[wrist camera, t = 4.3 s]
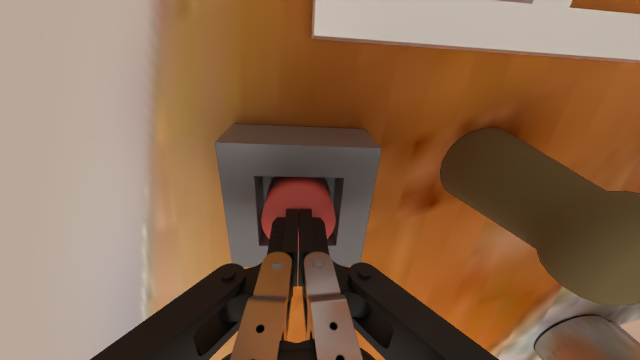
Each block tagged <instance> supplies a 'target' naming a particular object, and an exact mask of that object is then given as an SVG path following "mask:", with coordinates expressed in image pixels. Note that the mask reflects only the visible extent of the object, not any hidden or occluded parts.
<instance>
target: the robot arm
mask: <svg viewBox="0 0 640 360" xmlns="http://www.w3.org/2000/svg"><path fill="white" fill-rule="evenodd" d="M297 269H298V286H302V304H303V315H304V326H305V337H306V341H303V342H300V343H293V342H289V341H287V336H288V327H289V319H290V310H291V301H292V296H293V286H297ZM354 328H355V329H356V330H357V331H358V332H359V333H360V334H361V335H362V336H363V337H364V338H365V339H366V340H367V341H368V342H369V343H370V344H371V345H372V346H373V347H374V348H375V349H376V350H377V351H378V352H379V353H380V354H381V355H382V356H383V357H384V358H385V359H386V360H499V359H497V358H496V357H494V356H493V355H492V354H490V353H489V352H488V351H486V350H485V349H484V348H482V347H481V346H480V345H478V344H477V343H476V342H474V341H473V340H472V339H470V338H469V337H468V336H466V335H465V334H464V333H462V332H461V331H459V330H458V329H457V328H455V327H454V326H453V325H451V324H450V323H449V322H447V321H446V320H445V319H443V318H442V317H441V316H439V315H438V314H437V313H435V312H434V311H433V310H431V309H430V308H429V307H427V306H426V305H424V304H423V303H422V302H420V301H419V300H418V299H416V298H415V297H414V296H412V295H411V294H410V293H408V292H407V291H406V290H404V289H403V288H402V287H400V286H399V285H398V284H396V283H395V282H394V281H392V280H391V279H389V278H388V277H387V276H385V275H384V274H383V273H381V272H380V271H379V270H377V269H376V268H375V267H373V266H372V265H370V264H367V263H362V262H360V263H355V264H354V265H352V266H351V267H350V268H348V267H344V266H341V265H339V264H337V263H335V262H334V261H333V260H332V259H331V257H330V255H329V249H328V242H327V235H326V228H325V223H324V221H323V220H322V219H321V217H312V209H299V267H298V209H286V216H285V217H276V219H275V220H274V221H273V222H272V227H271V233H270V239H269V246H268V252H267V256H266V257H265V258H264V259H263V261H262V263H260V264H259V265H257V266H255V267H252V268H248V269H244V268H243V267H242V266H241V265H239V264H235V263H231V264H226V265H223V266H221V267H219V268H218V269H216V270H215V271H214V272H212V273H211V274H209V275H208V276H207V277H205V278H204V279H202V280H201V281H200V282H198V283H197V284H195V285H194V286H193V287H191V288H190V289H188V290H187V291H186V292H184V293H183V294H181V295H180V296H179V297H177V298H176V299H174V300H173V301H172V302H170V303H169V304H167V305H166V306H164V307H163V308H162V309H160V310H159V311H157V312H156V313H155V314H153V315H152V316H150V317H149V318H148V319H146V320H145V321H143V322H142V323H141V324H139V325H138V326H136V327H135V328H134V329H132V330H131V331H129V332H128V333H127V334H125V335H124V336H122V337H121V338H120V339H118V340H117V341H115V342H114V343H113V344H111V345H110V346H108V347H107V348H106V349H104V350H103V351H102V352H100V353H99V354H97V355H96V356H94V357H93V358H92V359H90V360H209V359H210V358H211V357H212V356H213V355H214V354H215V353H216V352H217V351H218V350H219V349H220V348H221V347H222V346H223V345H224V344H225V343H226V342H227V341H228V340H229V339H230V338H231V337H232V336H233V335H234V334H235V333H236V332H237V331H238V330H239V331H238V334H237V337H236V341H235V344H234V347H233V351H232V353H230V354H229V355H227V356H226V357H224V358H223V359H222V360H375V359H374V358H373V357H372V356H371V355H370V354H369V353H368V352H366V351H365V350H363V349H362V348H360V347H359V344H358V340H357V336H356V333H355V329H354ZM535 351H536V353H537V354H538V355H539V357H540V358H541V359H542V360H640V343H639V342H638V341H636V340H635V339H634V338H633V337H631V335H629V334H628V333H627V332H626V331H625V330H624V329H622V328H621V327H620V326H619V325H618V324H616V323H615V322H608V321H607V320H606V319H605V318H603V317H600V316H583V317H578V318H574V319H571V320H568V321H565V322H563V323H561V324H559V325H557V326H555V327H553V328H552V329H550V330H548V331H547V332H546V333H545V334H543V335H542V336H541V337H540V338H539V340H538V341H537V343H536V345H535Z"/></svg>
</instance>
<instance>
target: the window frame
mask: <svg viewBox="0 0 640 360" xmlns="http://www.w3.org/2000/svg"><path fill="white" fill-rule="evenodd" d="M571 3H572V0H313V11H312V37H311V39H318V40H331V41H345V42H358V43H372V44H385V45H399V46H412V47H425V48H439V49H452V50H466V51H479V52H492V53H506V54H519V55H533V56H546V57H560V58H573V59H586V60H600V61H613V62H627V63H640V14H632V13H622V12H611V11H601V10H590V9H580V8H569V7H570V5H571Z"/></svg>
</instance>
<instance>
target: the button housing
mask: <svg viewBox="0 0 640 360" xmlns="http://www.w3.org/2000/svg"><path fill="white" fill-rule="evenodd" d="M215 147H216V154H217V161H218V168H219V175H220V182H221V189H222V196H223V203H224V210H225V217H226V224H227V231H228V238H229V245H230V252H231V259H232V263H235V264H239V265H241V266H242V267H255V266H257V265H259V264H260V263H262V261H263V259H264V258H265V257H266V256H267V252H268V246H269V238H268V237H267V236H266V234H265V233H264V231H263V228H262V223H261V218H262V213H263V209H264V205H265V201H266V196H267V192H268V188H269V185H270V184H271V182H272V180H273V179H274V178H275V177H276V176H280V177H323V178H324V179H325V181H326V182H327V184H328V186H329V189H330V193H331V198H332V203H333V207H334V212H335V218H336V223H335V227H334V230H333V232H332V234H331V235H330V236H329V238H328V239H327V242H328V249H329V255H330V257H331V259H332V260H333V261H334V262H335V263H337V264H339V265H341V266H352V265H354V264H355V263H360V262H361V256H362V251H363V245H364V240H365V235H366V229H367V224H368V218H369V213H370V208H371V202H372V197H373V192H374V186H375V181H376V175H377V170H378V165H379V159H380V154H381V147H380V146H379V145H378V144H377V143H376V141H375V140H374V139H373V138H372V137H371V136H370V135H369V133H368V132H367V131H366V130H365V129H352V128H328V127H304V126H280V125H256V124H233V125H232V126H231V127H230V128H229V129H228V130H227V131H226V132H225V133H224V134H223V135H222V136H221V137H220V138H219V139H218V140H217V141H216V142H215ZM298 266H299V250H298Z"/></svg>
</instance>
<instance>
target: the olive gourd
mask: <svg viewBox="0 0 640 360" xmlns="http://www.w3.org/2000/svg"><path fill="white" fill-rule="evenodd" d="M440 177H441V182H442V184H443V186H444V188H445V190H447V191H448V192H449V193H451V194H452V195H453V196H455V197H456V198H458V199H460V200H461V201H463V202H464V203H466V204H467V205H469V206H470V207H472V208H474V209H475V210H477V211H478V212H480V213H481V214H483V215H484V216H486V217H487V218H489V219H491V220H492V221H494V222H495V223H497V224H498V225H500V226H501V227H503V228H505V229H506V230H508V231H509V232H511V233H512V234H514V235H515V236H517V237H519V238H520V239H522V240H523V241H525V242H526V243H528V244H529V245H531V246H533V247H534V248H536V249H537V254H538V256H539V259H540V262H541V263H542V265H543V266H544V268H545V269H546V270H547V272H548V273H549V274H550V275H551V276H552V277H553V278H554V279H555V280H557V281H558V282H559V283H560V284H561V285H563V286H564V287H565V288H567V289H568V290H570V291H571V292H573V293H575V294H576V295H578V296H580V297H581V298H584V299H587V300H590V301H593V302H596V303H599V304H604V305H630V304H636V303H640V194H639V193H634V192H629V191H605V190H604V189H602V188H600V187H599V186H597V185H595V184H594V183H592V182H590V181H589V180H587V179H585V178H584V177H582V176H580V175H579V174H577V173H575V172H574V171H572V170H570V169H569V168H567V167H565V166H564V165H562V164H560V163H559V162H557V161H555V160H554V159H552V158H550V157H549V156H547V155H545V154H544V153H542V152H540V151H539V150H537V149H535V148H534V147H532V146H530V145H529V144H527V143H525V142H524V141H522V140H520V139H519V138H517V137H515V136H514V135H512V134H510V133H509V132H507V131H504V130H502V129H499V128H482V129H479V130H475V131H472V132H470V133H469V134H467V135H465V136H464V137H462V138H460V139H459V140H458V141H457V142H456V143H455V144H454V145H453V146H452V147H451V148H450V149H449V151H448V152H447V154H446V156H445V157H444V159H443V162H442V166H441V169H440Z"/></svg>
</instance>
